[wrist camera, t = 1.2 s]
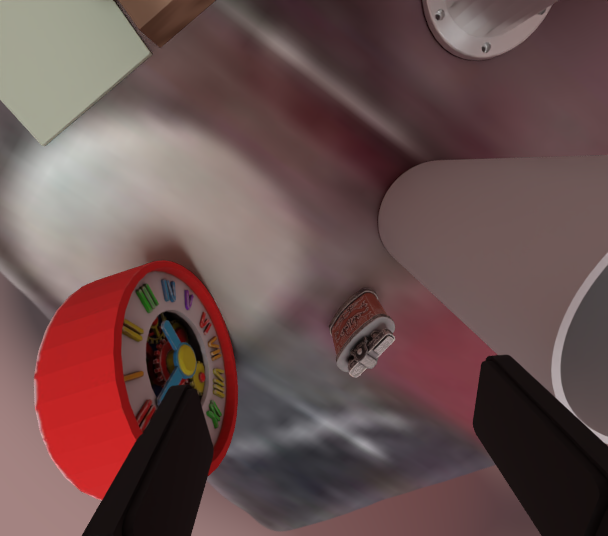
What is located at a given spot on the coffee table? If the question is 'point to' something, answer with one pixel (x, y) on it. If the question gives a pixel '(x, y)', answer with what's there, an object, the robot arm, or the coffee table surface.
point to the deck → (163, 16)
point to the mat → (62, 59)
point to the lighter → (361, 332)
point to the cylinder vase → (516, 262)
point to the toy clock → (130, 368)
